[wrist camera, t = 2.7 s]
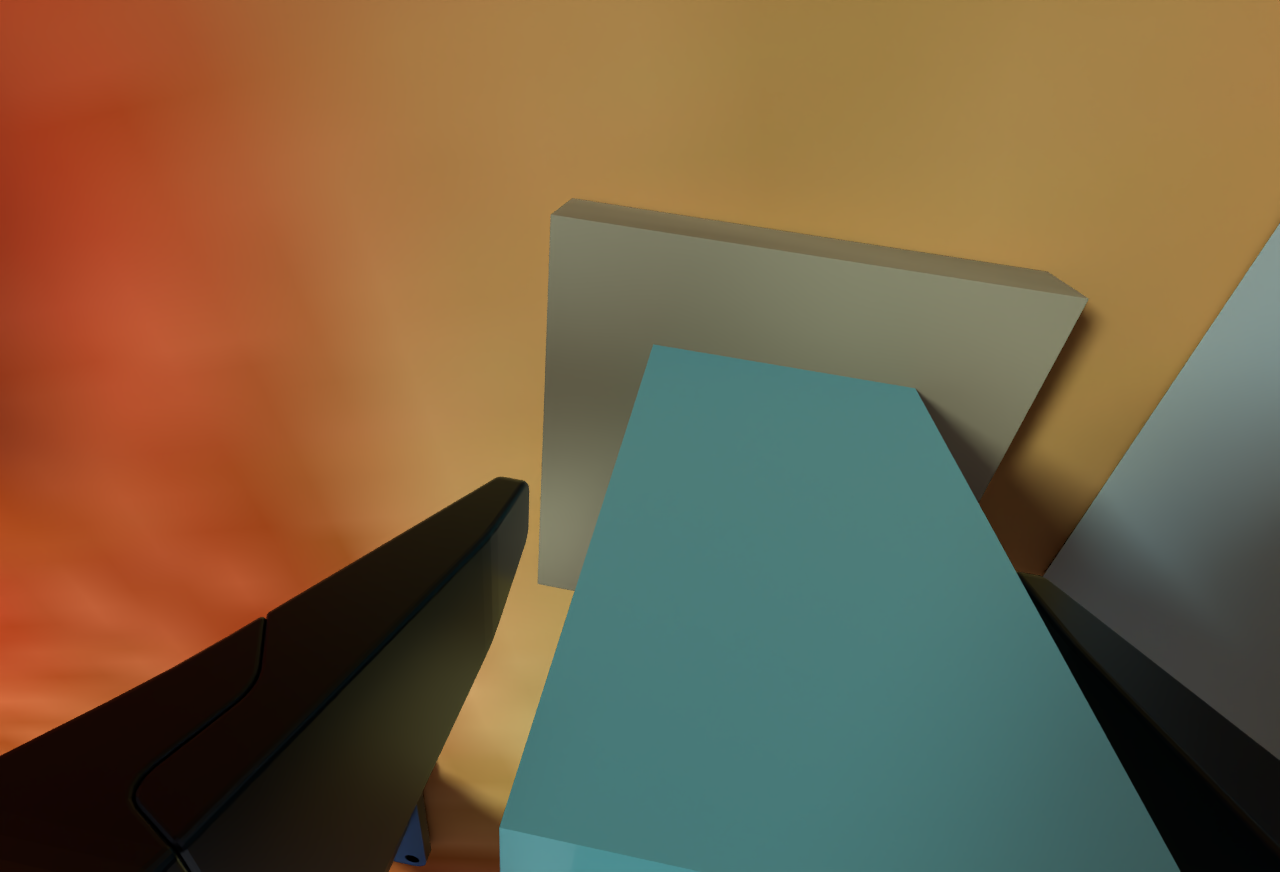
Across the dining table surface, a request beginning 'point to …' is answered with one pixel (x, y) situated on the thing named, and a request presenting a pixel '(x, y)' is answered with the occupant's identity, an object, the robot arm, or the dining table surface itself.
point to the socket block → (1201, 519)
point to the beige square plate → (773, 337)
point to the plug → (807, 657)
